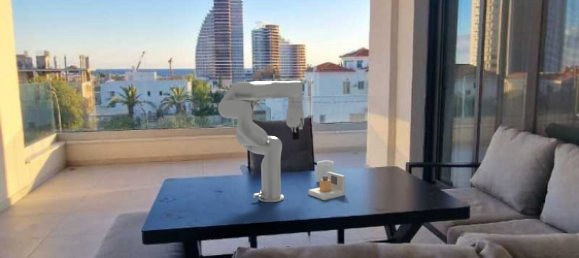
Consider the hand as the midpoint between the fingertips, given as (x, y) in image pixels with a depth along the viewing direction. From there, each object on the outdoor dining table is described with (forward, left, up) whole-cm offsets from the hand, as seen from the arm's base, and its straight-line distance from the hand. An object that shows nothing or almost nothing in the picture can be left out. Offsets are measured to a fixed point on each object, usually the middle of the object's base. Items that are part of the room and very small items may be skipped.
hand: (295, 139), depth 233 cm
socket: (+5, -18, -27) cm, 33 cm away
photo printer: (+22, +2, -27) cm, 35 cm away
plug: (+5, -18, -27) cm, 33 cm away
